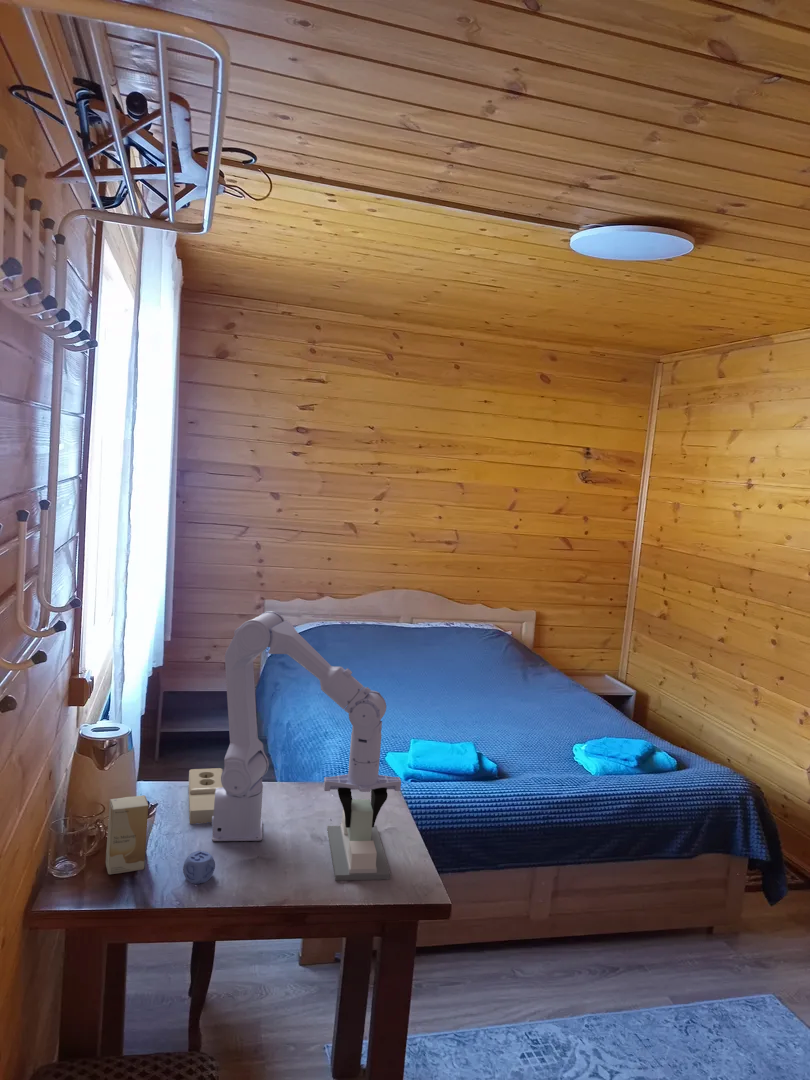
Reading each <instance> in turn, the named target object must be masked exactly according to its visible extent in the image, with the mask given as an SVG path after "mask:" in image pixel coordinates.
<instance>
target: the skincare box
mask: <svg viewBox="0 0 810 1080" xmlns="http://www.w3.org/2000/svg"><path fill="white" fill-rule="evenodd" d="M108 807H109V809H108V823H107V834H106V835H107V836H106V837H107V838H106V852H105V867H106V871H107V874H108V875H114V874H122V873H130V872H134V871H135V872H136V871H142V870H144V869H145V860H146V849H147V848H146V847H147V834H148V833H147V831H148V815H149V803H148V799H147V796H146V795H135V796H125V797H119V798H118V797H117V798H116V797H115V798H109V804H108Z"/></svg>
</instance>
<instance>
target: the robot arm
mask: <svg viewBox="0 0 810 1080" xmlns="http://www.w3.org/2000/svg"><path fill="white" fill-rule="evenodd" d="M233 634H234V635H233V637H232V638H231V641H230V643H229V644H228V647H227V649H226V651H225V653H224V667H225V680H226V681H225V683H226V698H227V699H226V700H227V701H226V702H227V714H228V715H227V717H228V730H229V733H228V735H229V745H228V748H227V750H226V753H225V756H224V764H223V765H224V767H223V769H222V770H223V772H222V774H221V783H222V786H223V787H222V788H216V790H215V801H214V816H212V823H211V826H212V836H211V837H212V839H211V840H212V841H213V842H239V841H241V842H243V841H244V842H247V841H248V842H249V841H255V842H257V841H258V842H259V841H262V840H263V819H262V807H263V793H264V792H263V790H264V789H263V787H264V785H263V784H264V783H263V777H264V776H265V775H266V774H267V772H268V770H269V766H270V764H269V763H270V762H269V760H268V756H267V755H266V753H265V751H264V743H263V742H262V741H261V740H260V739H259V737H258V724H257V723H258V720H257V703H256V687H255V686H256V685H255V684H256V683H255V672H254V671H255V669H254V666H255V665H254V661H255V660H256V659H257V658H258V657H259V656H260V654H262V653H263V652H264V651H265V650H267V648H269V650H268V654H269V655H270V654H272V655H287V656H289V657H290V658H291V659H292V660H294V661H295V662H296V663H298V664H299V665H300V666H302V667H303V668H304V669H305V670H306V671H308V672H309V673H310V674H312V675H313V676H314V677H316V678H317V680H318V681H319V684H320V690H321V691H322V692H323V693H324V694H325V695H327V696H328V697H329V698H330V699H331V700H333V702H335V704H337V706H338V707H340V708H341V709H342V710H344V711H345V712H346V713H348V719H349V722H350V724H351V725H352V729H351V736H350V745H349V747H350V748H349V760H348V772H347V773H345V774H340V775H336V776H335V775H334V776H324V779H323V791H324V792H330V791H331V790H337V793H338V798H339V800H340V803H341V805H342V808H343V809H344V813H345V825H346V828H350V811H351V803H352V799H353V796H352V790H357V791H358V790H359V792H361V793H363V792H364V793H369V792H370V794H371V795H370V802H371V806H372V809H373V820H372V827H374V826H375V823H376V820H377V817H378V815H379V812H380V810H381V809H382V807H383V806H384V804H385V803H386V801H387V799H388V790H394V792H395V791H396V792H400V791H402V790H401V789H402V788H401V786H402V781H401V778H400V777H399V776H391V775H390V776H388V775H384V774H379V771H380V759H381V758H380V757H381V747H382V746H381V745H382V735H383V734H382V728H383V727H382V725H383V721H382V719H383V717H384V716H385V714H386V712H387V703H386V700H385V698H384V697H383V696H382V695H381V692H379V691H376V690H372V689H371V688H370V687H369V686H364V685H363V684H362V683H361V682H359V681H358V680H357V679H356V678H355V677H354V676H352V674H353V672H352V671H351V669H350V668H346V669H345V668H344V667H343V666H333V665H331V664H330V663H329V662H328V661H327V660H326V659H325V658H324V657H323V656H322V655H321V654H320V653H319V652H318V651H317V650H316V649H315V648H314V647H313V646H312V645H311V644H310V643H309V642H308V641H307V640H306V639H305V638H304V637H303V636H302V635H300V633H299V632H298V631H297V630H296V629H295V627H294V626H293V624H292V623H291V622H290V621H288V620H287V619H286V620H285V618H284V617H283V616H282V615H281V614H280V613H278V612H276V611H274V610H273V611H271V610H269V611H264V612H263V613H261V614H260V615H258V616H256V617H254V618H252V619H249V620H246V621H244V622H243V623H242V624H241V625H240V626H239V627H237V628H236V629H235V630H234V631H233ZM343 809H342V810H343Z"/></svg>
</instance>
